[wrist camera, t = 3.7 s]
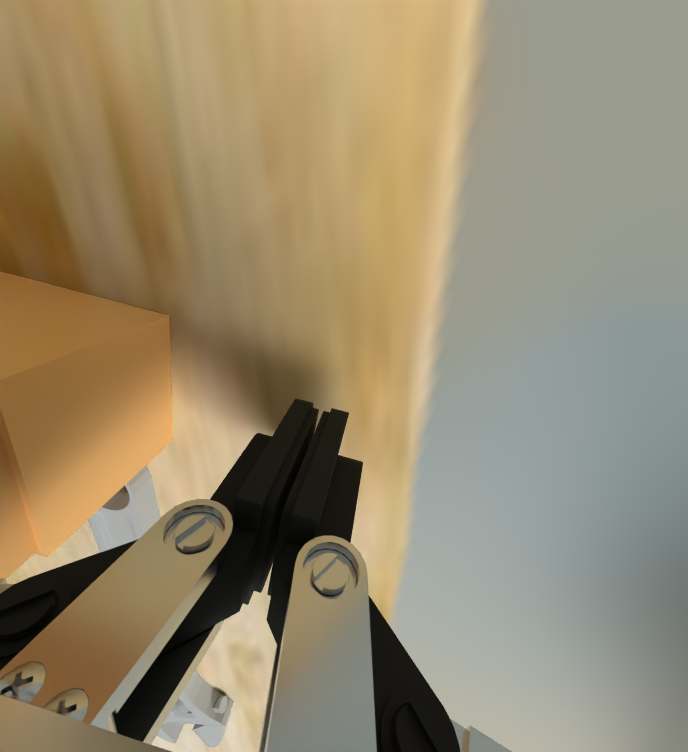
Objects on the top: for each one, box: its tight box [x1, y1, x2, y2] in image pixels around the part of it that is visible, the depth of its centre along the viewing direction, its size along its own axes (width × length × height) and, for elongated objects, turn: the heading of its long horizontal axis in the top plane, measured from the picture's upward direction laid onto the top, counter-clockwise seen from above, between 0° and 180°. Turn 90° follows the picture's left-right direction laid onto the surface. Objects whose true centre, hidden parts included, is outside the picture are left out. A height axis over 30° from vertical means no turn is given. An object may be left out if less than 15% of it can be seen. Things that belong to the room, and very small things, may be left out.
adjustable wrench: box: [88, 466, 234, 747], centre depth 18 cm, size 25×6×2 cm, turn 171°
